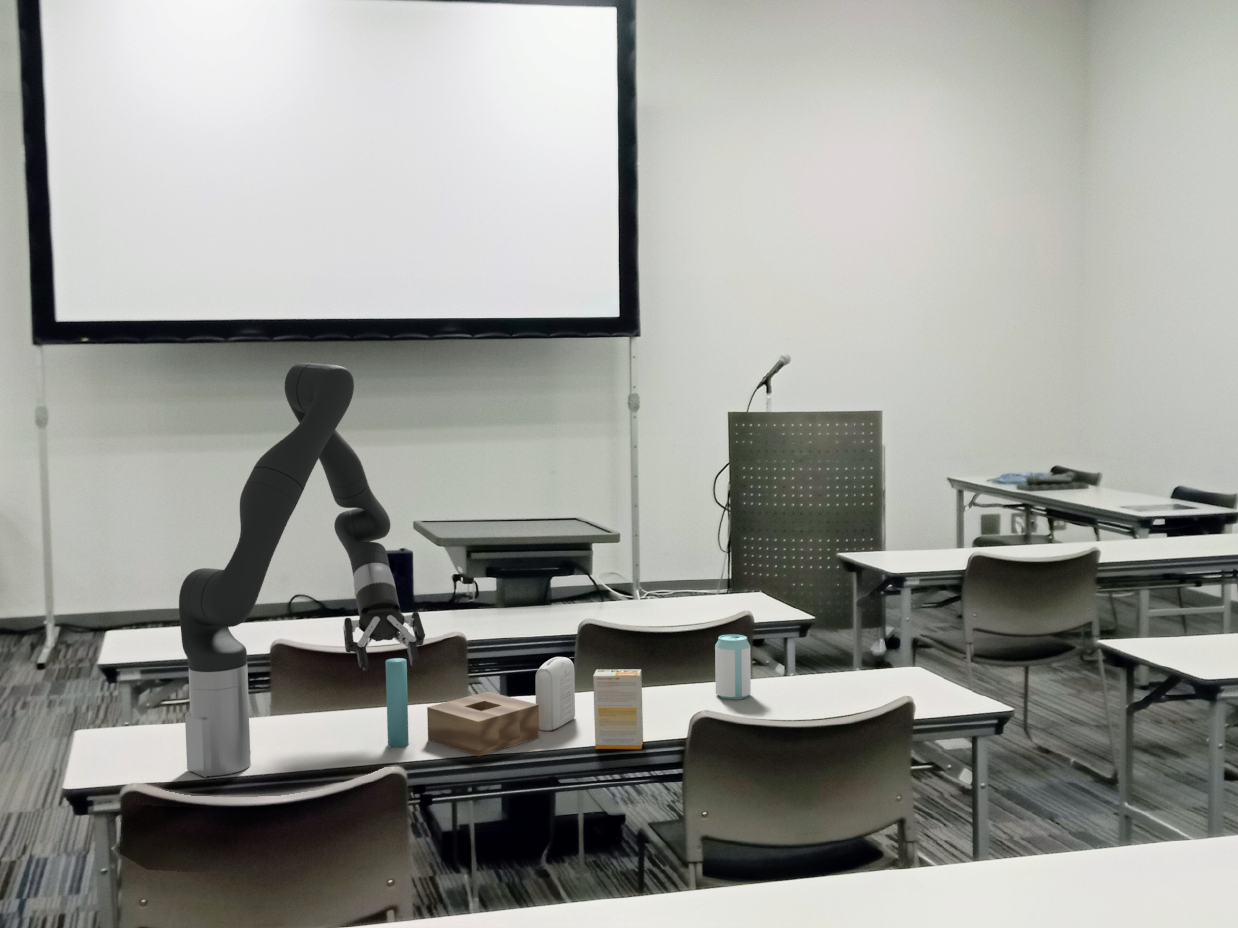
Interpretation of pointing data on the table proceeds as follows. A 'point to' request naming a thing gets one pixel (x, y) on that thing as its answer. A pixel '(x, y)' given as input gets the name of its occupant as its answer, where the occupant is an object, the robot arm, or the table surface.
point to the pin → (397, 702)
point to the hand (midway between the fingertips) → (390, 665)
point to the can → (732, 667)
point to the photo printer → (555, 693)
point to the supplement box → (618, 708)
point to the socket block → (483, 723)
